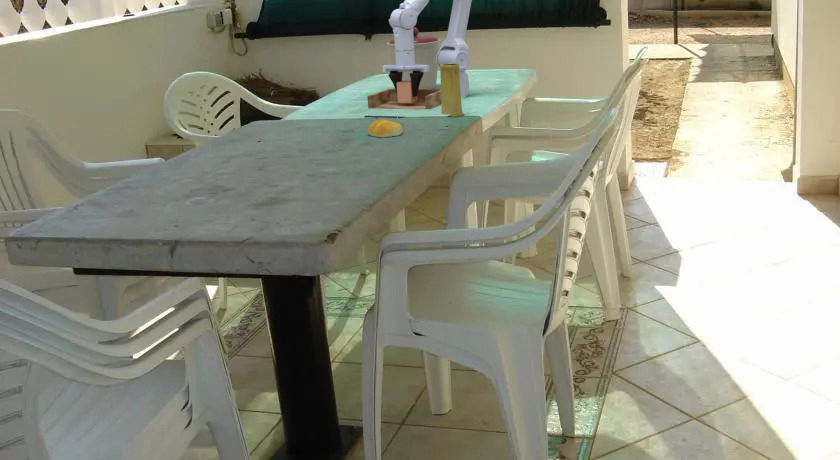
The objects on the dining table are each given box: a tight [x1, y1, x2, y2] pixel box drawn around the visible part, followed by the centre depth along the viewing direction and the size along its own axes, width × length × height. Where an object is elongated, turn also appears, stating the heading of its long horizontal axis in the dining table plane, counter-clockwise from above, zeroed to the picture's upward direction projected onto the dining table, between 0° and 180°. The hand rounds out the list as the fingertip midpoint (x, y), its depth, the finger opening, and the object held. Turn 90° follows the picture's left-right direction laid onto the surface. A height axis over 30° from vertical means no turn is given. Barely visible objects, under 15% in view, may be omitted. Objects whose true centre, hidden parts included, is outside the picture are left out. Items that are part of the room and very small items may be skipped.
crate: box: [366, 88, 442, 110], centre depth 267 cm, size 14×20×4 cm
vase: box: [439, 63, 464, 118], centre depth 247 cm, size 6×6×14 cm
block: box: [397, 80, 418, 103], centre depth 266 cm, size 4×4×6 cm
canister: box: [386, 26, 442, 89], centre depth 298 cm, size 18×18×21 cm
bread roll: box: [367, 118, 403, 138], centre depth 227 cm, size 8×9×4 cm
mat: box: [364, 115, 405, 119], centre depth 257 cm, size 10×12×1 cm
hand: (407, 96), depth 266 cm, fingers closed on block, 4 cm apart
